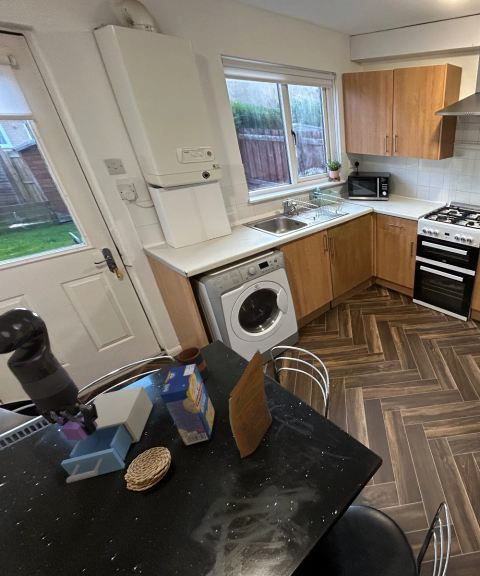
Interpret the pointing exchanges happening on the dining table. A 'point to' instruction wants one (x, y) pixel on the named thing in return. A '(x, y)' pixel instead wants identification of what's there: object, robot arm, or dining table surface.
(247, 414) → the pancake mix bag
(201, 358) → the mug
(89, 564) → the dining table surface
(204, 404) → the blue cereal box
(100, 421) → the cabinet
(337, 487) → the dining table surface
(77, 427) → the block
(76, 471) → the drawer
